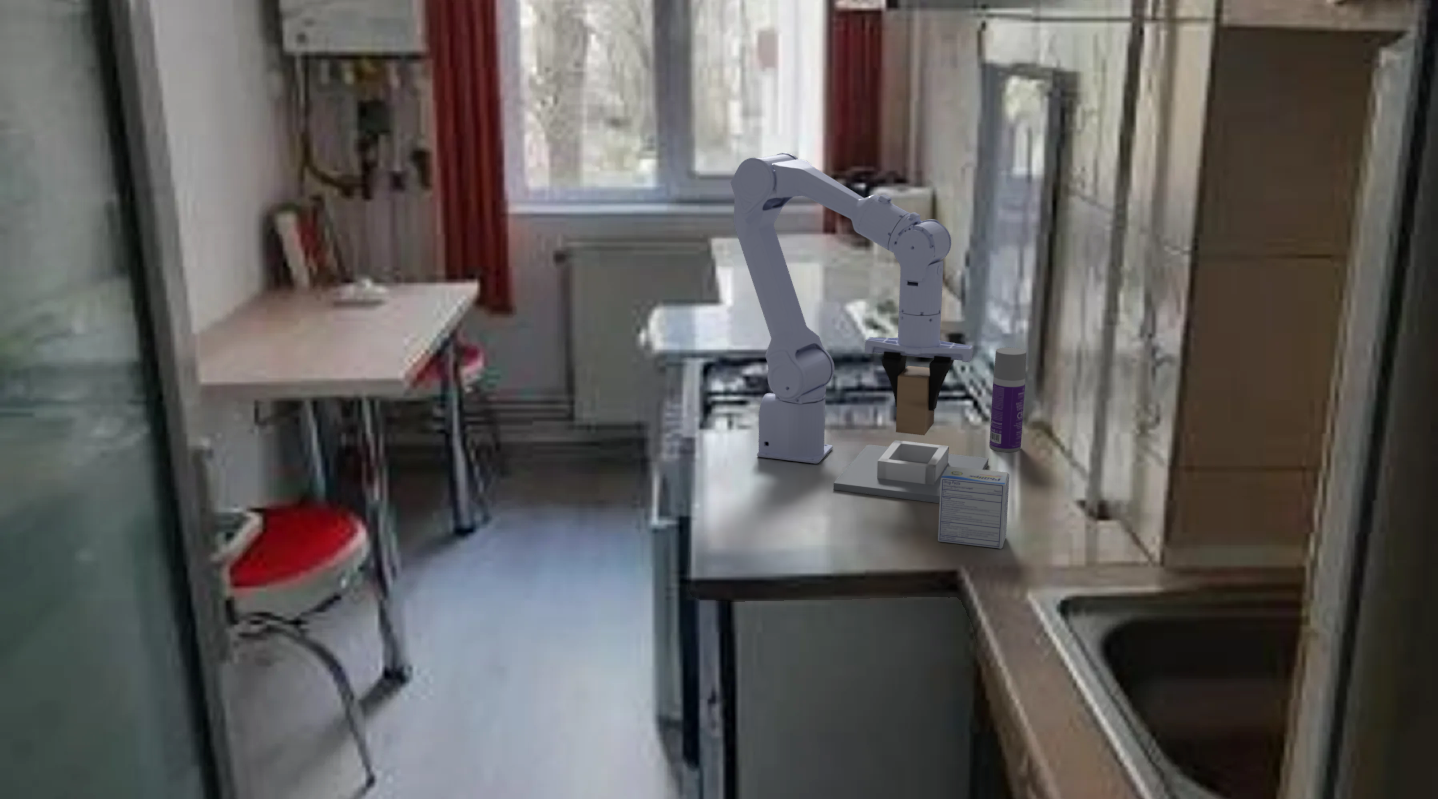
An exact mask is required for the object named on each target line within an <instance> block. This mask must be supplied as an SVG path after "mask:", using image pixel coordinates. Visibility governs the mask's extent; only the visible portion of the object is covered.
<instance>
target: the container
mask: <svg viewBox="0 0 1438 799" xmlns="http://www.w3.org/2000/svg"><path fill="white" fill-rule="evenodd" d="M1026 370H1027V350H1025V349H1023V348H1020V347H1019V348H1018V347H1009V346H1008V347H1007V346H1006V347H999V348H996V349H995V355H994V366H993V378H992V393H991V411H990V426H989V427H990V428H989V444H988V445H989V448H990V449H991V450H993V451H996V452H1001V453H1014V452H1015V453H1016V452H1018V451H1020V450H1022V449H1021V448H1022V434H1023V425H1024V424H1023V422H1024V408H1025V407H1024V406H1025V391H1026V374H1027V373H1026V372H1027V371H1026Z"/></svg>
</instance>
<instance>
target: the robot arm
mask: <svg viewBox="0 0 1438 799" xmlns="http://www.w3.org/2000/svg"><path fill="white" fill-rule="evenodd" d="M730 186H731V189H732V192H733V195H734V202H733V203H734V205H733V225H734V226H733V227H734V229H735V230H734V231H735V233H736V235H737V238H738V242H739V244H740V248H741V250H742V254H743V256H744V261H745V262H746V263H745V264H746V266H747V269H748V271H749V275H750V279H751V280H752V285H753V287H754V289H755V293H756V296H757V300H758V302H759V305H760V308H761V309H760V310H761V311H762V313H763V314H762V315H763V317H764V321H765V323H766V327H767V330H768V332H769V336H770V341H769V344H768V347H767V350H766V352H765V354H764V356H765V359H766V362H767V383H768V386H769V388H770V390H771V391H772V392H768V393H765V394H764V395H763V397H762V399H761V401H760V405H759V410H758V413H759V414H758V452H757V454H756V456H757V457H758V458H765V459H766V458H767V459H774V460H783V461H793V462H798V463H799V462H800V463H807V464H809V463H810V464H819V463H820V462H821V461H822V460H823V459H824V458H825V457H826V456H827V455H828V454H829V453H830V452H831V450H833V445H832V444H825V429H826V428H825V427H826V426H825V424H826V422H825V421H826V392H827V385H828V384H829V383H830V382H831V381H832V380H833V378H834V374H835V363H834V360H833V358H832V356H831V355H830V353H829V352H828V351H827V349H826V348H825V347H824V346H823V343H822V340H821V338H820V336H819V335H818V334H817V333H816V332H815V331H813V330H812V329H810V328H809V327H808V326H807V323H806V320H805V317H804V315H803V314H804V313H803V311H802V307H801V304H800V301H799V298H798V296H797V295H798V294H797V293H796V289H795V286H794V282H793V281H792V280H793V279H792V277H791V275H790V270H789V268H788V265H787V261H786V259H785V255H784V253H783V252H784V251H783V249H782V247H781V244H780V241H779V238H778V234H777V230H776V228H775V223H776V220H777V219H778V217H779V215H780V213H781V211H782V209H783V208H784V207H785V206H786V205H787V204H788V203H789V202H790V201H791V200H792V199H793V198H795V197H805V198H807V199H809V200H811V201H813V202H815V203H817V204H820V205H822V206H823V207H825V208H827V209H830V210H831V211H834V212H835V213H838V214H840V215H842V216H844V217H845V218H848V219H849V220H851V223H852V224H851V225H852V227H853V230H854V232H856V234H859V235H861V236H862V237H864V238H866V239H867V240H869V241H871V242H873V243H875V244H877V245H878V246H880V247H882V248H884V249H885V250H887V251H889V252H890V253H892V254H893V255H894V258H895V260H896V261H897V262H898V264H899V267H900V275H899V296H898V297H899V299H898V300H899V301H898V320H897V322H898V323H897V325H898V327H897V328H898V329H897V337H878V336H877V337H874V336H873V337H872V336H869V337H867V338H866V339H865V344H864V345H865V346H864V348H865V349H864V353H865V354H869V355H873V354H881V355H883V357H882V359H881V366H882V367H883V369H884V371H885V374H886V375H887V377H888V381H889V383H890V385H891V389H892V393H893V397H894V403H895V404H894V405H895V407H896V408H897V388H898V376H899V375H900V374H901V373H902V372H903V371H904V369H905V368H906V367H907V366H906V365H907V357H917V358H928V359H933V360H931V361H930V363H929V365H928V368H929V370H930V393H929V411H934V412H935V410H936V409H937V406H938V405H937V404H938V400H939V396H940V393H941V389H942V387H943V384H944V382H945V379H946V377H947V375H948V374H949V371H950V369H951V367H952V365H953V363H954V362H955V361H961V362H962V363H970V362H971V361H972V360H973V351H974V350H973V349H974V346H973V345H970V344H962V343H955V342H952V341H951V342H950V341H944V340H941V328H942V327H941V321H942V304H943V303H942V302H943V285H944V284H943V283H944V282H943V281H944V280H943V279H944V260H943V259H945V258H946V257H947V256H948V255H949V253H950V251H951V248H952V238H951V234H950V232H949V230H948V228H946V226H944V224H942V223H941V222H940V221H939V220H937V219H934V218H933V219H931V218H930V219H925V220H922V219H921V215H920V213H917V212H915V211H914V212H911V213H910V212H909V211H907V210H905V209H903V208H902V207H899V206H897V205H896V204H894V203H892V200H893V198H892V197H890V196H889V195H887V194H881V195H877V194H871V195H869V196H867V197H863V196H861V195H860V194H858V193H856V192H855V191H853V190H851V189H850V188H848V187H847V186H845V185H843V184H842V183H841V182H838V181H837V180H836V179H834V178H832V177H830V176H829V175H828V174H826V173H824V172H823V171H821V170H819V169H817V168H816V167H815V166H813V165H812V163H810V162H809V161H808V160H805V159H802V158H798V157H797V156H796V155H794V154H793V153H789V152H780V153H777V154H774V155H767V156H761V157H754V156H753V157H749V158H746V159H744V160H743V161H742V162H741V163H740V164H739V166H738V167H737V169H736V171H735V172H734V174H733V177H732V178H731V180H730Z"/></svg>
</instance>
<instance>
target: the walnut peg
mask: <svg viewBox="0 0 1438 799" xmlns="http://www.w3.org/2000/svg"><path fill="white" fill-rule="evenodd" d="M929 393H930V370H929V367H926V366H925V367H924V366H915V365H907V366H905V369H904V371H903V372H902V373H901V374H900V375H899V376H898V388H897V407H896V414H895V416H896V420H895V433H900V434H907V435H908V434H909V435H917V436H918V435H919V436H926V434H927V433H928V432H929V430H930V429H931V427H932V426H933V425H934V423H935V410H934V411H929Z"/></svg>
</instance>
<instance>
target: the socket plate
mask: <svg viewBox="0 0 1438 799" xmlns="http://www.w3.org/2000/svg"><path fill="white" fill-rule="evenodd" d="M949 451H950V446H949V445H943V444H942V445H941V444H932V443H923V442H916V441H915V442H914V441H908V440H898V439H897V440H896V439H894V440H893V441H892V442H891V444H890V445H889V446H886V445H885V446H884V445H876V444H875V445H874V444H869V443H867V444H866V445H865V447H864V448H863V449H862V450H861V451H860V452H859V453H858V455H857V456H856V457H855V458H854V459H853V460H852V462H851V463H850V464H848V466H847V467H846V468H845V469H844V471H843V472H842V473H840V475H839V476H838V477H837V478H836V480H834V482H833V491H839V492H840V491H841V492H848V493H849V492H850V493H857V494H862V495H863V494H864V495H872V496H880V497H887V498H894V499H895V498H896V499H902V500H903V499H905V500H911V501H917V502H918V501H920V502H926V503H927V502H928V503H935V504H940V481H941V477H942V475H943V473H944V471H945V470H946V468H947V467H961V468H971V469H982V470H987V467H988V466H989V458H988V457H982V456H981V457H980V456H971V455H963V454H954V453H950V452H949Z"/></svg>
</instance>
